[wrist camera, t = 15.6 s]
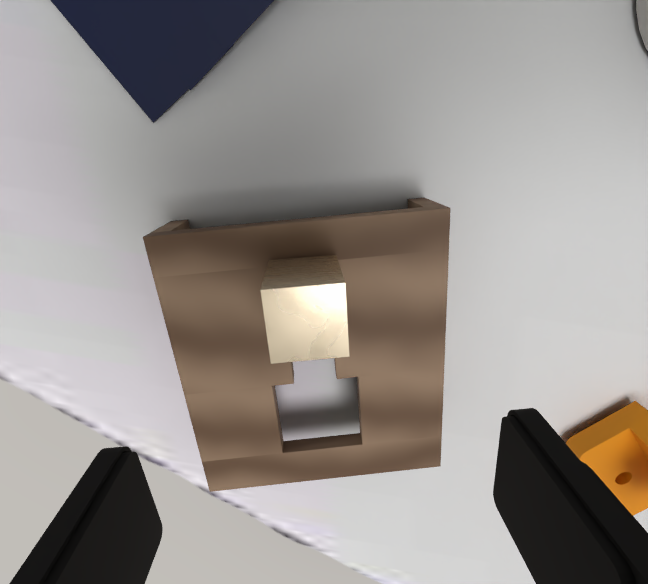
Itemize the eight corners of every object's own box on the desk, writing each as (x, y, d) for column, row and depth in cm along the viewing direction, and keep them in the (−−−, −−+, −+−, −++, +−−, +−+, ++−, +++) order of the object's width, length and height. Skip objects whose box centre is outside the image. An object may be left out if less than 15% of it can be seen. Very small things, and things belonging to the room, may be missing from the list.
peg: (271, 237, 27) (255, 286, 17) (332, 232, 27) (349, 278, 17) (278, 293, 29) (267, 367, 19) (335, 288, 29) (353, 359, 19)
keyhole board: (171, 221, 26) (142, 236, 22) (424, 197, 27) (450, 207, 22) (222, 443, 33) (209, 491, 29) (421, 422, 34) (440, 466, 29)
